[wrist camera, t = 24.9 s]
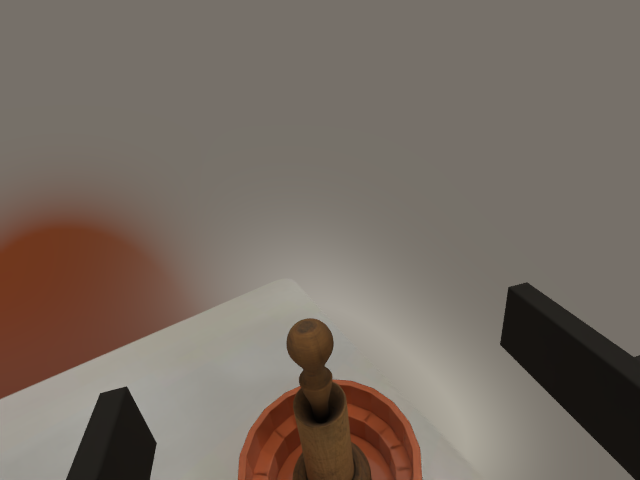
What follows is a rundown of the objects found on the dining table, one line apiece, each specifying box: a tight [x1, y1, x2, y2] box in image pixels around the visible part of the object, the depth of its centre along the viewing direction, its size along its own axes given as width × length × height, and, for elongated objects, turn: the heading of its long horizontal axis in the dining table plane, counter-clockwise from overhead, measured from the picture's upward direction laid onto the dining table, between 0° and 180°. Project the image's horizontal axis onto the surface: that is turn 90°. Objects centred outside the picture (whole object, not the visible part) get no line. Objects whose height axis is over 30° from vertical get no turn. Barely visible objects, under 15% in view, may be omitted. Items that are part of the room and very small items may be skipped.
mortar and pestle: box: [287, 319, 372, 480], centre depth 26 cm, size 7×6×18 cm
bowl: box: [238, 380, 422, 480], centre depth 29 cm, size 14×14×6 cm
